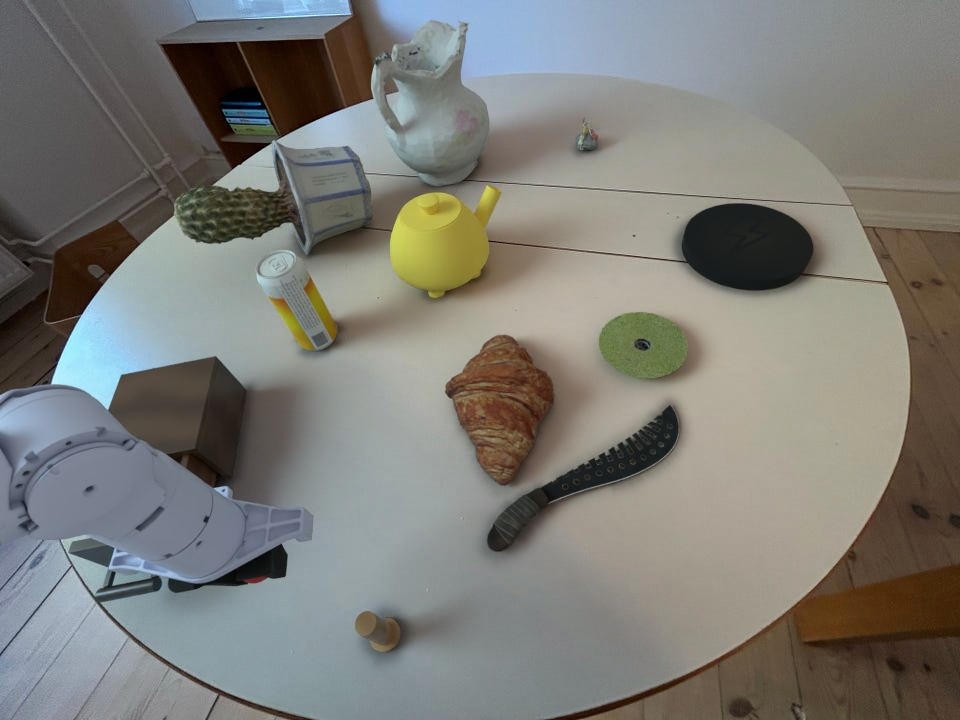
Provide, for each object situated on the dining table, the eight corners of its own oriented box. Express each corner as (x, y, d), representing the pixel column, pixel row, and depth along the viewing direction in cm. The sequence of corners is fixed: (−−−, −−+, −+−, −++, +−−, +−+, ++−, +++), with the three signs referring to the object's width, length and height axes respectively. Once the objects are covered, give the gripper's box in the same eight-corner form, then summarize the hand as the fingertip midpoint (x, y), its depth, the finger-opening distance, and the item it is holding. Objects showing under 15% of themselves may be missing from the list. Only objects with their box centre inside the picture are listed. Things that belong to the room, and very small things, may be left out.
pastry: (593, 414, 61) (598, 377, 54) (500, 493, 56) (494, 463, 50) (505, 340, 70) (501, 301, 63) (419, 402, 65) (404, 367, 59)
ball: (261, 594, 42) (244, 586, 40) (240, 574, 43) (222, 565, 41) (287, 564, 43) (272, 554, 41) (266, 545, 45) (250, 534, 42)
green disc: (586, 331, 69) (586, 322, 67) (661, 312, 69) (664, 303, 68) (616, 395, 62) (618, 387, 60) (700, 374, 62) (704, 365, 61)
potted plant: (338, 117, 86) (145, 138, 73) (380, 163, 77) (166, 198, 64) (346, 206, 99) (183, 238, 86) (383, 255, 90) (206, 299, 77)
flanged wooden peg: (387, 659, 47) (366, 650, 42) (365, 639, 49) (342, 628, 43) (406, 630, 49) (388, 618, 43) (384, 611, 50) (364, 597, 44)
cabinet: (232, 477, 61) (194, 448, 55) (133, 497, 61) (85, 470, 55) (247, 390, 70) (216, 355, 63) (160, 407, 70) (120, 374, 63)
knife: (697, 437, 58) (666, 406, 61) (702, 430, 57) (670, 399, 59) (501, 570, 51) (476, 528, 54) (501, 566, 50) (475, 523, 52)
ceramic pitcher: (458, 217, 90) (444, 75, 70) (370, 192, 96) (333, 54, 75) (505, 155, 101) (505, 16, 81) (423, 136, 107) (404, 2, 86)
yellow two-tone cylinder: (327, 316, 77) (286, 241, 65) (346, 337, 74) (307, 262, 62) (293, 337, 75) (245, 264, 63) (311, 360, 72) (263, 287, 60)
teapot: (481, 218, 87) (471, 145, 76) (532, 263, 79) (529, 188, 68) (382, 267, 82) (356, 196, 71) (425, 321, 74) (404, 250, 63)
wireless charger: (680, 283, 72) (683, 273, 71) (682, 210, 82) (685, 200, 81) (815, 296, 68) (821, 286, 66) (800, 217, 78) (805, 206, 76)
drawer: (202, 593, 52) (165, 579, 47) (97, 614, 52) (49, 602, 47) (228, 451, 63) (200, 427, 58) (141, 468, 63) (105, 445, 58)
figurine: (584, 139, 99) (586, 109, 94) (603, 145, 97) (606, 115, 92) (569, 151, 97) (570, 122, 92) (588, 158, 95) (590, 127, 90)
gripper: (282, 444, 35) (345, 510, 46) (85, 482, 35) (194, 539, 46) (271, 542, 31) (343, 590, 42) (47, 585, 31) (177, 622, 42)
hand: (264, 569), depth 43 cm, fingers closed on ball, 3 cm apart
